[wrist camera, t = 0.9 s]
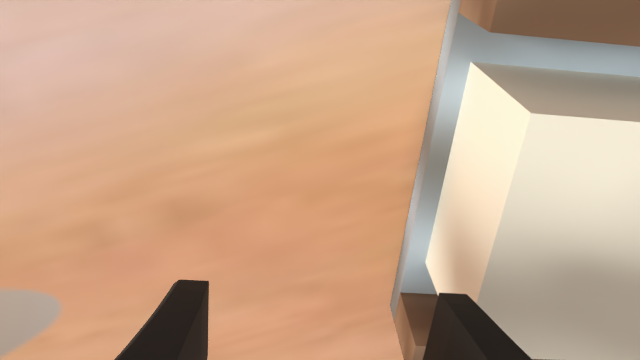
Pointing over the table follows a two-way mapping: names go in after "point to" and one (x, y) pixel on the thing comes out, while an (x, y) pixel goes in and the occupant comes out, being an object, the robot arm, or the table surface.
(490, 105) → the cream chamfered box
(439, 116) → the bay
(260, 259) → the table surface
